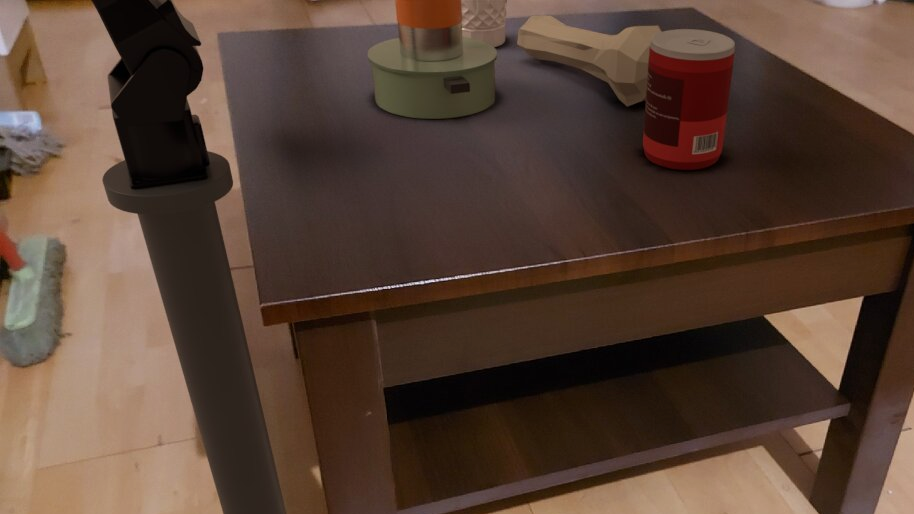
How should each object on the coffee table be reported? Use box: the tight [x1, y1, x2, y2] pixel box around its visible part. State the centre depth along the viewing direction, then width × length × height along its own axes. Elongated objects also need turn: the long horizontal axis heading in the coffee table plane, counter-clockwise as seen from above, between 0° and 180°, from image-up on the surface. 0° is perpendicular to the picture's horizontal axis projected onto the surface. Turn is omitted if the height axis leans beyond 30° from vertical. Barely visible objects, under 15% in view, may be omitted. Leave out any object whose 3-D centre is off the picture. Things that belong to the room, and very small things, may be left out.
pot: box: [366, 37, 498, 120], centre depth 94 cm, size 14×17×5 cm
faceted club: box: [516, 15, 663, 108], centre depth 101 cm, size 9×8×25 cm
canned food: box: [642, 28, 736, 171], centre depth 82 cm, size 8×8×11 cm
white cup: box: [461, 0, 508, 48], centre depth 111 cm, size 8×8×10 cm
